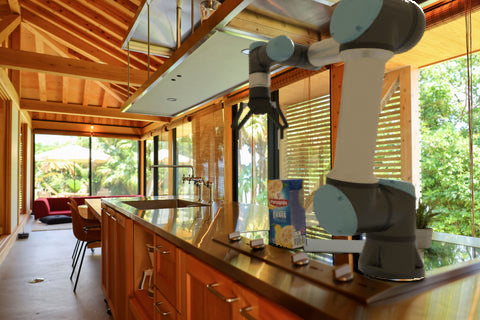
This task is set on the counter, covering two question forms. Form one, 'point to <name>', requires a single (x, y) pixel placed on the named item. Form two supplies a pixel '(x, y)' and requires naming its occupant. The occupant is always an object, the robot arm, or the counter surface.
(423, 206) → the house plant
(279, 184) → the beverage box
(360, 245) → the light grey flat slab
